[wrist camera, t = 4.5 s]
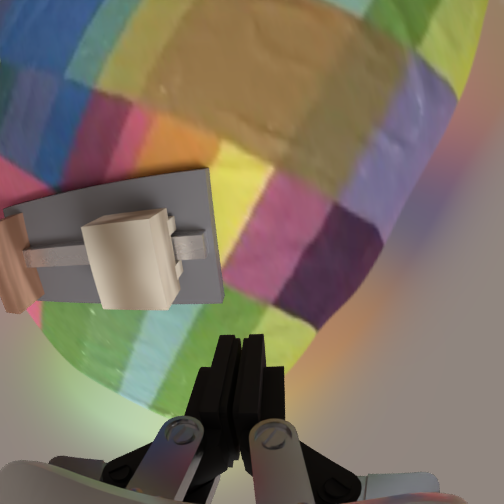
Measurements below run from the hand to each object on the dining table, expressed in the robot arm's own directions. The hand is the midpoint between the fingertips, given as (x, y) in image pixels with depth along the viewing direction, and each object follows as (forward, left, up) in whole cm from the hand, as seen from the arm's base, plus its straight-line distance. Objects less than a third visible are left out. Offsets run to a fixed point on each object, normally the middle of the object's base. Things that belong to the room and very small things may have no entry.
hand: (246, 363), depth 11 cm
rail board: (+17, -1, -16) cm, 23 cm away
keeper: (+10, -1, -14) cm, 17 cm away
